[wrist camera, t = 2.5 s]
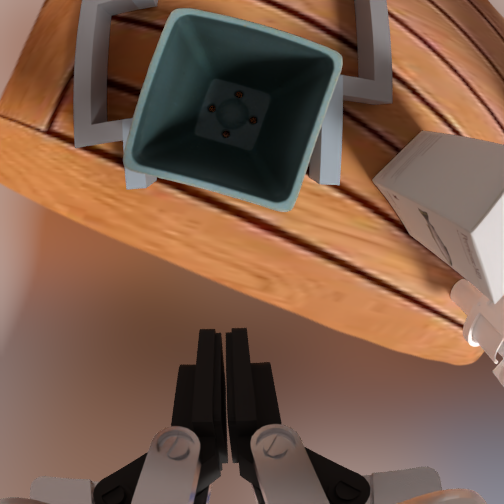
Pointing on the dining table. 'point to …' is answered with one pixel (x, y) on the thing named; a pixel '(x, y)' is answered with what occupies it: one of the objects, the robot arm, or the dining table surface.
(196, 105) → the flower pot
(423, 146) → the supplement box
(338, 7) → the dining table surface
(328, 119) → the stepped grey frame
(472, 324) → the white plastic fitting
